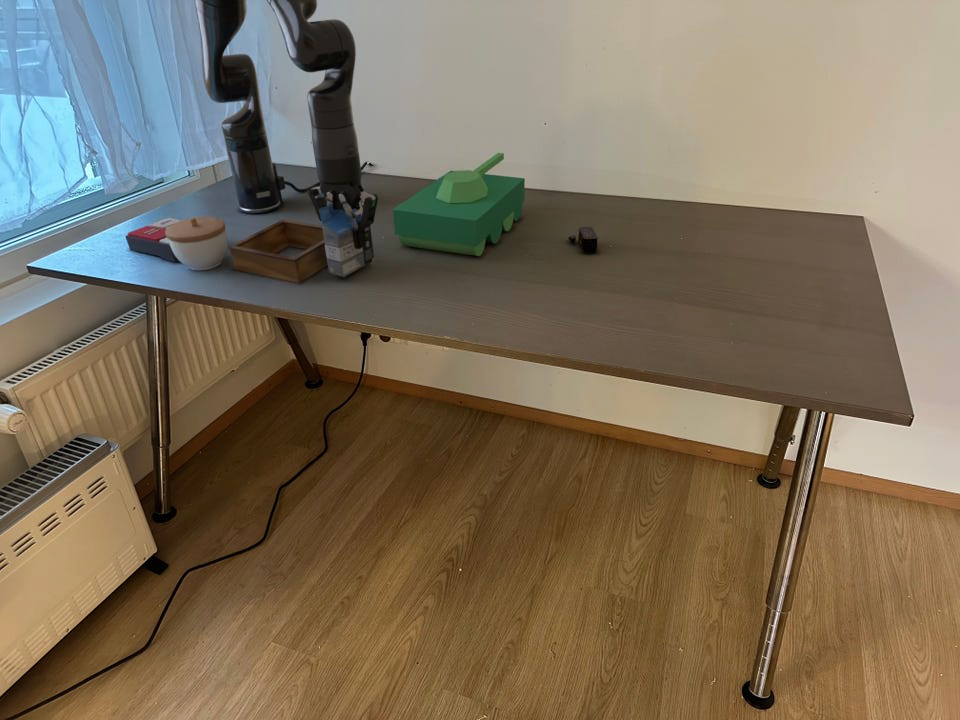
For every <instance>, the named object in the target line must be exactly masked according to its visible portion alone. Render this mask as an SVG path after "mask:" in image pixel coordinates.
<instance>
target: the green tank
mask: <svg viewBox="0 0 960 720" xmlns="http://www.w3.org/2000/svg"><path fill="white" fill-rule="evenodd" d="M504 159H505V153H504V152H497V153H495V154H494V155H493V156H491V157H490V158H489V159H487V160H486V161H485V162H483V163H482V164H480V165H479V166H478V167H476V168H474V169H473V170H470V169H467V170H450V171H448V172H446V173H445V174H443V175H442V176H440V177H439V178H437V179H436V180H434V181H433V182H432V183H430V184H429V185H426V187H425V188H423V189H421V190H420V191H418V192H417V193H415V194H414V195H412V196H411V197H409V198H407V199H406V200H405V201H403V202H402V203H400V204H399V205H398V206H395V207H394V208H393V209H392V217H393V227H394V235H397V236H398V240H399V243H400V244H401V245H402V246H405V247H409V248H410V247H411V248H417V249H418V248H419V249H425V250H432V251H440V252H444V253H445V252H447V253H453V254H461V255H467V256H474V257H480V256H482V255H483V252H484V250H485V246H486V244H487V243H488V244H497V243H498V242H499V240H500V239H501V236H502V232H509V231H510V230H511V229H512V226H513V224H514V222H517V221H518V220H519V219H520V217H521V214H522V211H523V210H522V209H523V203H524V202H525V187H526V185H525V182H526V181H525V177H516V176H508V175H496V174H487V173H488V172H489V171H490V170H491V169H493V168H494V167H495V166H497V165H498V164H500V163H501V162H502V161H503V160H504Z"/></svg>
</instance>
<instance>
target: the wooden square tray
mask: <svg viewBox="0 0 960 720" xmlns="http://www.w3.org/2000/svg"><path fill="white" fill-rule="evenodd" d="M290 247H291V248H296V249H301V250H304V251H302V252H300V253H298V254H296V255H294V256H291V255H285V254H279V253H280V252H281V251H283V250H285V249H287V248H290ZM227 249H228V250H229V252H230V256H231V260H232V264H233V269H234V270H235V271H240V272H245V273H249V274H255V275H259V276H264V277H269V278H273V279H278V280H283V281H288V282H292V283H296V284H300V283H302V282H304V281H305V280H306V279H308V278H310V277H312V276H313V275H314V274H316V273H317V272H319V271H320V270H322V269H324V268H325V267H326V266H327V267H328V263H327V256H326V249H325V242H324V236H323V229H322V225H318V224H313V223H307V222H301V221H295V220H290V219H281V220H279V221H277V222H275V223H273V224H271V225H269V226H266V227H265V228H263V229H261V230H259V231H257V232H255V233H252V235H249V236H247V237H246V238H243V239H241V240H239V241H238V242H236V243H233V244H232V245H229V246H228V247H227Z"/></svg>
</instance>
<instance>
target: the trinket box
mask: <svg viewBox="0 0 960 720" xmlns="http://www.w3.org/2000/svg"><path fill="white" fill-rule="evenodd" d="M181 220H182V219H181ZM165 234H166V237H167V238H168V241H169V244H170V247H171V249H172V251H173V253H174V255H175V256H176V258H177V259H178V260H179V261H178V262H180V263H181V264H182V265H184V266H186V267H188V268H189V270H191V271H207V270H211V269H214V268H216V267H218V266H220V265H221V264H222V261H223V259H224V258H225V256H226V254H227V252H228V247H229V246H228V234H227V231H226V223H225V221H224V220H223V219H221V218H218V217H213V216H200V217H190V218H187V219H183V220H182V221H179V222H177V223H174V224H172V225H170V226H169V227H168V228H167V229H166V231H165Z"/></svg>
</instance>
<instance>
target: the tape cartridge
mask: <svg viewBox="0 0 960 720" xmlns="http://www.w3.org/2000/svg"><path fill="white" fill-rule="evenodd" d="M329 210H330V208H329V206H326V207H323V208H321V209H319V212H320V217H321V221H320V222H321V226H322V229H323V236H324V242H325V249H326V256H327V263H328V265H327V269H328V274H330V275H334V276H338V277H341V278H345V277H347V276H348V275H350V274H353V273H354V272H356V271H358V270H359V269H361V268H363V267H365V266H367V265H369V264H370V263H372V262H374V261H375V253H374V245H373V236H372V229H371V225H369V226H368V227H366V228H365V235H366V244H365V245H364V247H362V248H361V249H356V248H355V245H354V237H353V230H354V229H353V227H352V224H351V221H350V219H349V218H347V216H346V213H345V211H343V210H341V211H340V212H338V213H337V214H335V216H334V217H333V216H332V215H331V214H330V211H329ZM334 210H335V209H334ZM354 210H355V208H354V209H353V210H352V211H354ZM356 218H357V217H356ZM357 221H358V220H357Z"/></svg>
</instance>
